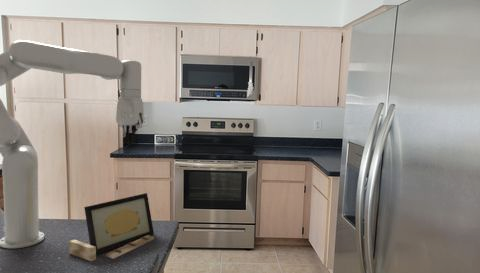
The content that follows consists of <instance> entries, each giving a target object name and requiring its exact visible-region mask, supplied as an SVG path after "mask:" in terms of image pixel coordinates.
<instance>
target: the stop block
mask: <svg viewBox="0 0 480 273" xmlns="http://www.w3.org/2000/svg"><path fill="white" fill-rule="evenodd" d="M69 254H70V255H72V256H76V257H77V258H80V259H83V260H87V261H89V262H93V261H96V260H97V254H96V247H95V246H92V245H90V243H86V242H83V241H80V240H77V239H71V240H69Z"/></svg>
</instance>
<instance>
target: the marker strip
mask: <svg viewBox="0 0 480 273" xmlns="http://www.w3.org/2000/svg"><path fill="white" fill-rule="evenodd" d="M153 240H155V236H153V235H150V236H149V235H147V236H145V237H141V238H140V239H138V240H136V241H133V242H130V243H128V244H125V245H122V246H120V247H119V248H118V247H117V249H116V248H113V249H112V251H109V252H108V253H106V254H105V255H106V256H105V257H106V258H109V259H113V260H114V259H116V258H118V257H120V256H122V255H124V254H126V253H128V252H131V251H133V250H134V249H137V248H138V247H141V246H143V245H145V244H147V243H149V242H151V241H153Z"/></svg>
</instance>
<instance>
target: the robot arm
mask: <svg viewBox="0 0 480 273" xmlns="http://www.w3.org/2000/svg"><path fill="white" fill-rule="evenodd" d="M31 69H34V70H38V71H39V70H40V71H46V72H53V73H57V74H64V75H65V74H67V75H73V74H74V75H75V74H78V75H79V74H83V75H89V76H90V75H91V76H97V77H100V78H102V79H104V80H119V97H118V100H117V104H116V114H115V116H116V117H115V119H116V120H115V121H116V123H117V124H118V126H119V127H120V128H122V129H123V130H124V133H125V144H129V145H130V144H135V143H136V133H137V132H138V130H139V129H143V124H144V120H145V119H144V118H145V114H144V102H143V99H142V64H141V62H140V61H136V60H130V59H129V60H127V59H125V60H122V61H121V60H120V59H119V58H118V57H116V56H114V55H108V54H104V53H99V52H94V51H93V52H92V51H86V50H80V49H75V48H67V47H62V46H57V45H52V44H47V43H46V44H45V43H41V42H37V41H36V42H35V41H31V40H26V39H25V40H24V39H18V40H15V41H13V42H12V43H10V45H9V47H8V49H7V50H6V51H4V52H2V53H1V54H0V87H3V86H4V85H6V84H7V83H9V82H11V81H12V80H14V79H16V78H18V77H20V76H21V75H23V74H25V73H26V72H28V71H30V70H31ZM0 155H1V157H2V162H1V171H2V172H1V174H2V188H3V189H2V190H3V209H4V212H3V215H4V227H3V228H2V231H3V232H4V236H3V237H1V238H0V248H4V249H21V248H27V247H31V246H35V245H36V244H39V243H41V242H42V241H44V239H45V233H44V232H42V231H40V229H39V228H40V223H39V222H40V221H39V220H40V218H39V217H40V216H39V180H38V178H39V173H38V172H39V162H38V161H39V160H38V152H37V151H36V149H35V148H34V146H33V144H32V142H31V141H30V139H29V137H28V136H27V134H26V132H25V131H24V129H23V127H22V126H21V124H20V123H19V122H18V121H17V120H16V119H15V118H13V117H12V116H11V115H10V112H8V110H7V108H6V106H5V104H4V102H3V100H2V99H1V98H0Z"/></svg>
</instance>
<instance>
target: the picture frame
mask: <svg viewBox="0 0 480 273" xmlns="http://www.w3.org/2000/svg"><path fill="white" fill-rule="evenodd" d="M83 208H84V214H85V215H84V216H85V219H86V228H87V233H88V234H87V235H88V240H89V245H92V246H95V247H96V255H99V254H102V253H104V252H106V251H107V252H108V251H111V250H114V249H116V248H118V247H119V248H120V247H123V246H125V245H127V244H128V243H132V242H134V241H136V240H138V239H140V238H141V237H145V236H147V235H149V236H153V235H154V234H155V231H154V225H153V220H152V214H151V209H150V208H151V207H150V203H149V196H148V193H147V192H146V193H140V194H137V195H132V196H128V197H123V198H118V199H114V200H110V201H109V200H108V201H105V202H102V203H97V204H92V205H89V206H88V205H87V206H84V207H83Z"/></svg>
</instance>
